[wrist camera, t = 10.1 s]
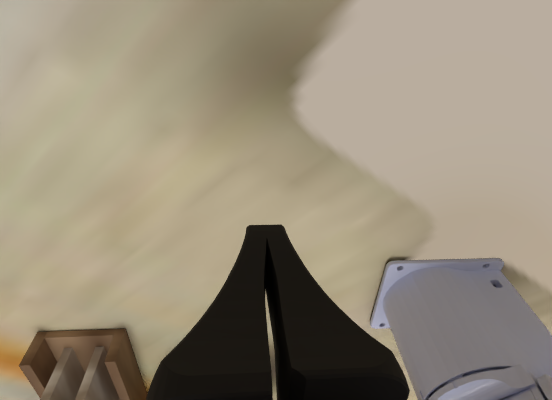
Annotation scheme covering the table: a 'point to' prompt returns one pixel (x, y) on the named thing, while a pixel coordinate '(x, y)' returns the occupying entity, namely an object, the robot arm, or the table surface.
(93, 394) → the dish rack
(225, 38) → the table surface
